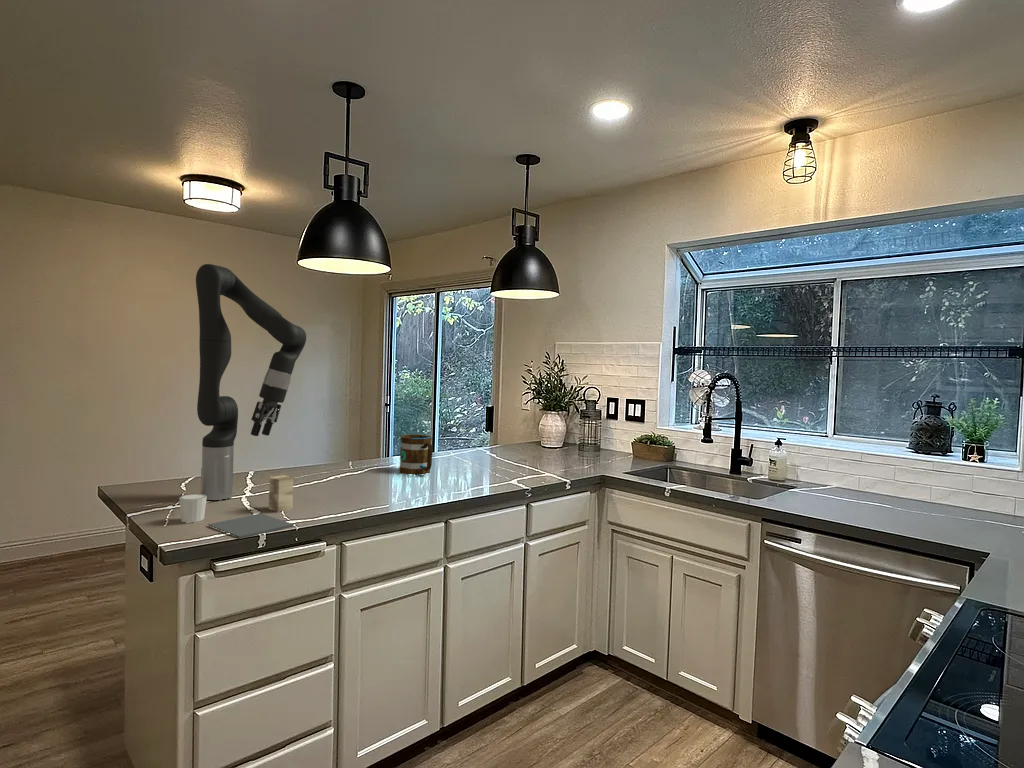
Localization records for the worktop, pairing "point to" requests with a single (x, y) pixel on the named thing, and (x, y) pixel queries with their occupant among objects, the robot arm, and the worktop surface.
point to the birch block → (280, 493)
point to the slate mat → (251, 525)
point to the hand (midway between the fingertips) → (259, 435)
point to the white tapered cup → (192, 507)
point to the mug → (415, 454)
